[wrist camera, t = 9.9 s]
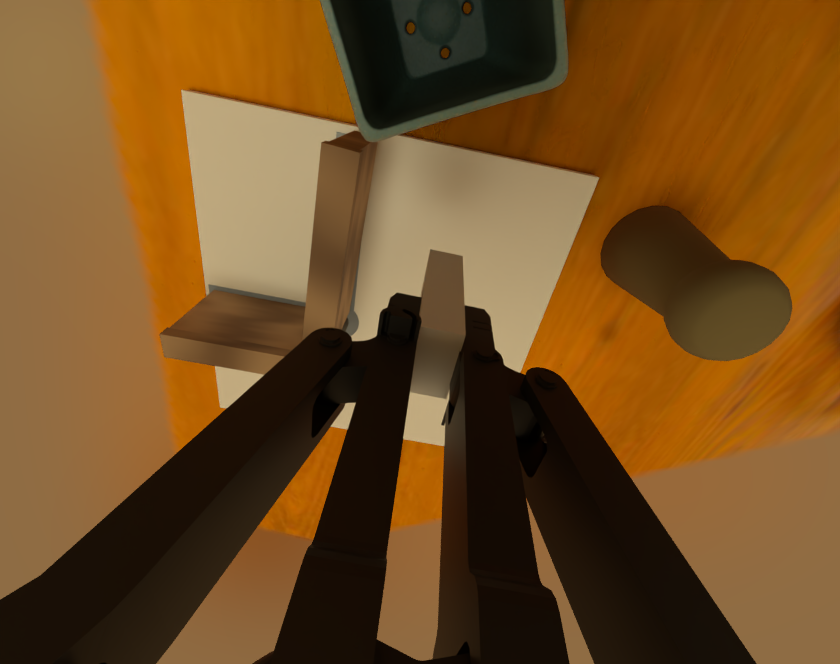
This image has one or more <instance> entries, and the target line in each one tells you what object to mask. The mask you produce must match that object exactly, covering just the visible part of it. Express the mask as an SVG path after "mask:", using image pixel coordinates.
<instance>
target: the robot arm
mask: <svg viewBox="0 0 840 664" xmlns="http://www.w3.org/2000/svg"><path fill="white" fill-rule="evenodd" d="M410 392H412V393H417V394H423V395H428V396H433V397H438V398H443V399H447V396H448V392H449V400H448V404H447V407H446V410H445V414H444V417H443V420H442V423H441V425H442V426H444V425H445V444H444V472H443V500H442V528H441V556H440V584H439V612H438V613H439V614H438V630H437V637H436V643H435V648H434V653H433V659H432V660H426V661H418V660H416V659H413V658H411V657H409V656H407V655H406V654H404V653H402V652H400V651H398V650H396V649H394V648H392V647H390V646H388V645H386V644H384V643H383V642H381V641H379V640H377V632H378V625H379V618H380V611H381V604H382V597H383V589H384V582H385V574H386V564H387V559H386V555H387V546H388V539H389V533H390V526H391V519H392V512H393V505H394V498H395V491H396V484H397V477H398V471H399V464H400V457H401V450H402V443H403V436H404V429H405V422H406V415H407V408H408V401H409V395H410ZM346 403H356V404H355V407H354V410H353V414H352V417H351V420H350V423H349V427H348V430H347V433H346V436H345V440H344V443H343V446H342V449H341V453H340V456H339V459H338V462H337V466H336V469H335V472H334V475H333V479H332V482H331V485H330V488H329V492H328V495H327V498H326V501H325V505H324V508H323V511H322V514H321V518H320V521H319V524H318V527H317V531H316V534H315V537H314V540H313V542H312V544H311V545H310V546H309V547H308V549H307V551H306V554H305V556H304V559H303V562H302V565H301V568H300V571H299V574H298V577H297V580H296V583H295V587H294V590H293V593H292V596H291V599H290V602H289V605H288V609H287V612H286V615H285V618H284V621H283V624H282V627H281V631H280V634H279V637H278V640H277V643H276V646H275V650H274V651H273V652H271V653H269V654H267V655H265V656H264V657H262V658H261V659H259V660H257V661H255V662H254V663H253V664H569V659H568V654H567V649H566V643H565V638H564V633H563V628H562V622H561V618H560V612H559V609H558V605H557V601H556V598H555V596H554V595H553V593H552V591H551V590H550V589H548V588H546V587H544V586H543V585H542V583H541V581H540V578H539V574H538V569H537V562H536V557H535V550H534V544H533V538H532V532H531V526H530V520H529V514H528V508H527V502H526V498H527V501H528V503H529V505H530V508H531V510H532V513H533V515H534V517H535V520H536V522H537V525H538V527H539V530H540V532H541V535H542V537H543V539H544V542H545V544H546V547H547V549H548V552H549V554H550V557H551V559H552V561H553V564H554V566H555V569H556V571H557V573H558V576H559V578H560V581H561V583H562V586H563V588H564V591H565V593H566V596H567V598H568V600H569V603H570V605H571V608H572V610H573V613H574V615H575V617H576V620H577V622H578V625H579V627H580V630H581V632H582V635H583V637H584V639H585V642H586V644H587V646H588V649H589V652H590V654H591V657H592V659H593V661H594V664H756V662H755V661H754V660H753V658H752V657H751V655H750V654H749V652H748V651H747V649H746V648H745V646H744V645H743V643H742V642H741V640H740V639H739V637H738V636H737V635H736V633H735V632H734V630H733V629H732V627H731V626H730V624H729V623H728V621H727V620H726V618H725V617H724V615H723V614H722V612H721V611H720V609H719V608H718V607H717V605H716V604H715V602H714V601H713V599H712V597H711V596H710V595H709V593H708V592H707V590H706V589H705V587H704V586H703V585H702V583H701V581H700V580H699V578H698V577H697V575H696V574H695V572H694V571H693V569H692V568H691V566H690V565H689V564H688V562H687V561H686V559H685V558H684V556H683V555H682V553H681V552H680V550H679V549H678V548H677V546H676V544H675V543H674V541H673V540H672V538H671V537H670V536H669V534H668V533H667V531H666V530H665V528H664V527H663V525H662V524H661V522H660V521H659V519H658V518H657V516H656V515H655V513H654V512H653V510H652V509H651V507H650V506H649V504H648V503H647V502H646V500H645V499H644V497H643V496H642V494H641V493H640V492H639V490H638V488H637V487H636V485H635V484H634V482H633V481H632V479H631V478H630V476H629V475H628V473H627V472H626V470H625V469H624V468H623V466H622V465H621V463H620V462H619V460H618V459H617V457H616V456H615V454H614V453H613V451H612V450H611V448H610V447H609V445H608V444H607V442H606V441H605V439H604V438H603V437H602V435H601V434H600V432H599V431H598V429H597V428H596V426H595V425H594V423H593V422H592V420H591V419H590V417H589V416H588V414H587V413H586V411H585V410H584V408H583V407H582V405H581V404H580V403H579V401H578V400H577V398H576V397H575V395H574V394H573V392H572V391H571V389H570V388H569V386H568V385H567V383H566V382H565V381H564V380H563V379H562V377H561V376H559V375H558V374H556V373H555V372H553V371H551V370H548V369H545V368H539V367H536V368H531V369H529V370H527V372H526V375H524V374H521V373H519V372H517V371H514V370H512V369H510V368H508V367H507V366H505V365H504V362H503V358H502V356H501V354H500V353H499V352H498V351H497V350H495V345H494V339H493V332H492V326H491V318H490V316H489V314H488V313H487V312H486V311H485V309H481V308H476V307H471V306H466V305H465V303H464V277H463V256H461V255H456V254H451V253H446V252H441V251H437V250H432V249H430V253H429V258H428V262H427V267H426V272H425V277H424V281H423V286H422V291H421V296H420V297H417V296H412V295H408V294H403V293H398V292H397V293H396V294H394V295H393V296H392V297H390V300H389V303H388V307H387V308H385V309H383V310H382V311H381V312H380V317H379V323H378V330H377V336H376V337H374V338H372V339H369V340H365V341H352V338H351V336H350V335H349V334H348V333H347V332H345V331H343V330H341V329H337V328H321V329H317V330H315V331H313V332H312V333H310V334H309V335H308V336H307V337H306V338H305V339H304V340H303V341H302V342H300V343H299V344H298V345H297V346H296V347H295V348H294V349H293V350H291V351H290V352H289V353H288V354H287V355H286V356H285V357H284V358H283V359H281V360H280V361H279V362H278V363H277V364H276V365H275V366H274V367H273V368H271V369H270V370H269V371H268V372H267V373H266V374H265V375H264V376H262V377H261V378H260V379H259V380H258V381H257V382H256V383H255V384H254V385H252V386H251V387H250V388H249V389H248V390H247V391H246V392H245V393H243V394H242V395H241V396H240V397H239V398H238V399H237V400H236V401H235V402H233V403H232V404H231V405H230V406H229V407H228V408H227V409H226V410H225V411H223V412H222V413H221V414H220V415H219V416H218V417H217V418H216V419H214V420H213V421H212V422H211V423H210V424H209V425H208V426H207V427H206V428H204V429H203V430H202V431H201V432H200V433H199V434H198V435H197V436H195V437H194V438H193V439H192V440H191V441H190V442H189V443H188V444H187V445H185V446H184V447H183V448H182V449H181V450H180V451H179V452H178V453H177V454H175V455H174V456H173V457H172V458H171V459H170V460H169V461H168V462H166V464H164V465H163V466H162V467H161V468H160V469H159V470H158V471H156V472H155V473H154V474H153V475H152V476H151V477H150V478H149V479H148V480H146V481H145V482H144V483H143V484H142V485H141V486H140V487H139V488H137V489H136V490H135V491H134V492H133V493H132V494H131V495H130V496H129V497H127V498H126V499H125V500H124V501H123V502H122V503H121V504H120V505H118V506H117V507H116V508H115V509H114V510H113V511H112V512H111V513H110V514H108V515H107V516H106V517H105V518H104V519H103V520H102V521H101V522H100V523H98V524H97V525H96V526H95V527H94V528H93V529H92V530H91V531H90V532H88V533H87V534H86V535H85V536H84V537H83V538H82V539H81V540H80V541H78V542H77V543H76V544H75V545H74V546H73V547H72V548H71V549H70V550H68V551H67V552H66V553H65V554H64V555H63V556H62V557H61V558H59V559H58V560H57V561H56V562H55V563H54V564H53V565H52V566H50V567H49V568H48V569H47V570H46V571H45V572H44V573H43V574H42V575H40V576H39V577H37V578H36V579H34V580H32V581H31V582H29V583H27V584H25V585H24V586H22V587H20V588H19V589H17V590H16V591H14V592H12V593H11V594H9V595H7V596H6V597H4V598H2V599H1V600H0V664H156V663H157V661H158V660H159V659H160V658H161V657H162V655H163V654H164V653H165V652H166V650H167V649H168V648H169V646H170V645H171V644H172V643H173V641H174V640H175V639H176V637H177V636H178V634H179V633H180V632H181V630H182V629H183V628H184V626H185V625H186V624H187V622H188V621H189V619H190V618H191V617H192V615H193V614H194V613H195V611H196V610H197V608H198V607H199V606H200V604H201V603H202V602H203V600H204V599H205V598H206V596H207V595H208V593H209V592H210V591H211V589H212V588H213V586H214V585H215V584H216V583H217V581H218V580H219V578H220V577H221V576H222V574H223V573H224V572H225V570H226V569H227V567H228V566H229V565H230V563H231V562H232V561H233V559H234V558H235V557H236V555H237V554H238V552H239V551H240V550H241V548H242V547H243V545H244V544H245V543H246V541H247V540H248V539H249V537H250V536H251V535H252V533H253V532H254V531H255V529H256V528H257V526H258V525H259V524H260V522H261V521H262V520H263V518H264V517H265V515H266V514H267V513H268V511H269V510H270V509H271V507H272V506H273V504H274V503H275V502H276V500H277V499H278V498H279V496H280V495H281V494H282V492H283V491H284V489H285V488H286V487H287V485H288V484H289V483H290V481H291V480H292V478H293V477H294V476H295V474H296V473H297V472H298V470H299V469H300V468H301V466H302V465H303V463H304V462H305V461H306V459H307V458H308V457H309V455H310V454H311V452H312V451H313V450H314V448H315V447H316V446H317V444H318V443H319V442H320V440H321V439H322V437H323V436H324V435H325V433H326V432H327V431H328V429H329V428H330V426H331V425H332V424H333V422H334V421H335V420H336V418H337V417H338V415H339V414H340V413H341V411H342V410H343V409H344V406H345V404H346Z"/></svg>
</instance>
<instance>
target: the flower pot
mask: <svg viewBox="0 0 840 664" xmlns="http://www.w3.org/2000/svg"><path fill="white" fill-rule="evenodd" d="M320 2H321V5H322V9H323V12H324V15H325V19H326V22H327V25H328V29H329V32H330V35H331V38H332V41H333V44H334V48H335V51H336V54H337V57H338V60H339V64H340V67H341V70H342V73H343V77H344V81H345V84H346V87H347V90H348V94H349V97H350V101H351V104H352V108H353V111H354V115H355V119H356V122H357V125H358V128H359V130H360V132H361V134H362V136H363V137H364V139H365V140H366V141H369V142H378V141H381V140H385V139H388V138H391V137H393V136H396V135H400V134H403V133H406V132H409V131H412V130H415V129H419V128H422V127H424V126H428V125H432V124H434V123H438V122H440V121H444V120H447V119H450V118H453V117H458V116H461V115H464V114H467V113H470V112H474V111H477V110H480V109H483V108H487V107H490V106H494V105H497V104H500V103H504V102H507V101H511V100H514V99H518V98H521V97H525V96H528V95H533V94H537V93H540V92H543V91H547V90H550V89H553V88H555V87H557V86H559V85H561V84H562V83H563V82H564V81H565V79H566V77H567V74H568V48H567V32H566V21H565V19H566V17H565V5H564V0H320ZM465 2H469V3H470V4H471V7H472V9H471V12H470V13H469V14H465V13H463V10H462V7H463V4H464V3H465ZM409 22H412V23H414V25H415V31H414V32H413V33H412V34H409V33H408V32H407V30H406V25H407V23H409ZM443 48H448V49H449V51H450V52H449V56H448V57H447V58H443V57H442V56H441V50H442V49H443Z"/></svg>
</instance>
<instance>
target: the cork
mask: <svg viewBox="0 0 840 664" xmlns="http://www.w3.org/2000/svg"><path fill="white" fill-rule="evenodd" d="M601 266H602V268H603V270H604V272H605V274H606V276H607V277H608V278H610V279H611V280H612V281H613V282H614V283H616V284H617V285H618V286H620V287H621V288H623V289H624V290H626V291H627V292H629V293H630V294H632V295H633V296H634V297H636V298H637V299H639V300H640V301H642V302H643V303H645V304H646V305H648V306H649V307H650V308H652V309H653V310H655V311H656V312H658V313H659V314H661V315H662V316H664V322H665V324H666V327H667V329H668V332H669V334H670V336H671V338H672V339H673V340H674V341H675V342H676V343H677V344H678V345H679V346H680V347H681V348H683V349H684V350H685V351H687V352H688V353H690V354H692V355H695V356H697V357H700V358H703V359H707V360H718V361H730V360H735V359H741V358H744V357H747V356H749V355H752V354H754V353H757V352H758V351H760V350H762V349H763V348H765V347H766V346H768V345H769V344H771V343H772V342H773V341H774V340H775V339H776V338H777V337H778V336H779V335H780V334H781V333H782V332H783V330H784V329H785V327H786V325H787V324H788V322H789V320H790V316H791V311H792V301H791V297H790V293H789V289H788V288H787V286H786V285H785V284H784V283H783V282H782V281H781V279H780V278H779V277H778V276H777V275H776V274H775V273H774V272H772V271H770V270H769V269H767V268H765V267H762V266H760V265H757V264H755V263H752V262H748V261H742V260H730V259H729V258H728V257H727V256H726V255H725V254H724V253H723V252H722V251H721V250H720V249H718V248H717V247H716V246H715V245H714V244H713V243H712V242H711V241H710V240H709V239H708V238H707V237H706V236H705V235H703V234H702V233H701V232H700V231H699V230H698V229H697V228H696V227H695V226H694V225H693V224H692V223H691V222H690V221H688V220H687V219H686V218H685V217H684V216H683V215H682V214H681V213H680V212H679V211H676V210H674V209H671V208H669V207H665V206H651V207H647V208H643V209H639V210H636V211H635V212H633V213H631V214H629V215H627V216H626V217H624V218H623V219H622V220H620V221H619V222H618V223H617V224H616V225H615V226H614V227H613V228H612V229H611V231H610V232H609V234H608V236H607V237H606V239H605V240H604V243H603V247H602V251H601Z"/></svg>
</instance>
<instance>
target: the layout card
mask: <svg viewBox="0 0 840 664" xmlns="http://www.w3.org/2000/svg"><path fill="white" fill-rule="evenodd" d="M181 92H182V100H183V108H184V117H185V125H186V133H187V141H188V149H189V157H190V165H191V174H192V182H193V190H194V198H195V206H196V214H197V223H198V231H199V239H200V247H201V255H202V263H203V271H204V280H205V288H206V296H207V295H208V294H210V293H211V292H212V291H213V290H218V291H223V292H228V293H234V294H239V295H245V296H250V297H255V298H261V299H266V300H271V301H277V302H282V303H287V304H293V305H298V306H303V307H305V306H306V295H307V285H308V275H309V264H310V254H311V244H312V233H313V223H314V212H315V202H316V192H317V181H318V171H319V161H320V150H321V142H324V141H331V140H333V139H336V138H338V137H340V136H343V135H345V134H347V133H350V132H352V131H354V130H355V131H358V132H360V130H359V128H358V125H355V124H350V123H345V122H341V121H336V120H331V119H326V118H322V117H317V116H312V115H307V114H303V113H298V112H293V111H288V110H284V109H279V108H274V107H269V106H265V105H260V104H255V103H250V102H246V101H241V100H236V99H231V98H227V97H222V96H217V95H212V94H208V93H203V92H198V91H193V90H181ZM598 180H599V177H597V176H595V175H592V174H588V173H583V172H578V171H573V170H569V169H564V168H559V167H554V166H550V165H545V164H540V163H535V162H531V161H526V160H521V159H516V158H512V157H507V156H502V155H497V154H493V153H488V152H483V151H478V150H474V149H469V148H464V147H459V146H455V145H450V144H445V143H440V142H436V141H431V140H426V139H421V138H417V137H412V136H407V135H402V134H400V135H396V136H393V137H391V138H388V139H385V140H381V141H378V144H377V150H376V156H375V162H374V168H373V174H372V180H371V186H370V192H369V198H368V204H367V210H366V216H365V222H364V228H363V234H362V240H361V246H360V252H359V258H358V264H357V270H356V276H355V282H354V288H353V294H352V300H351V306H350V312H349V314H348V316H347V318H348V321H349V324H348V327H347V329H346V332H347V333H348V334H349V335H350V336H351V338H352V341H365V340H369V339H372V338H374V337H376V336H377V330H378V323H379V317H380V312H381V311H382V310H383V309H385V308H387V307H388V303H389V300H390V297H392V296H393V295H394V294H396V293H397V292H398V293H403V294H408V295H412V296H417V297H420V296H421V291H422V286H423V281H424V277H425V272H426V267H427V262H428V258H429V253H430V249H432V250H437V251H441V252H446V253H451V254H456V255H461V256H463V277H464V303H465V305H466V306H471V307H476V308H481V309H485V311H486V312H487V313H488V314H489V316H490V318H491V326H492V332H493V339H494V345H495V350H497V351H498V352H499V353H500V354H501V356H502V358H503V362H504V365H505V366H507V367H508V368H510V369H512V370H514V371H517V372H519V373H520V372H521V369H522V367H523V364H524V362H525V359H526V357H527V354H528V352H529V349H530V347H531V345H532V342H533V340H534V337H535V335H536V332H537V330H538V327H539V325H540V322H541V320H542V318H543V315H544V313H545V310H546V308H547V305H548V303H549V300H550V298H551V295H552V293H553V290H554V288H555V286H556V283H557V281H558V278H559V276H560V273H561V271H562V268H563V266H564V263H565V261H566V258H567V256H568V254H569V251H570V249H571V246H572V244H573V241H574V239H575V236H576V234H577V231H578V229H579V227H580V224H581V222H582V219H583V217H584V214H585V212H586V209H587V207H588V204H589V202H590V199H591V197H592V195H593V192H594V190H595V187H596V185H597V182H598ZM215 369H216V377H217V386H218V394H219V402H220V407H221V408H228V407H229V406H230V405H231V404H232V403H233V402H235V401H236V400H237V399H238V398H239V397H240V396H241V395H242V394H243V393H245V392H246V391H247V390H248V389H249V388H250V387H251V386H252V385H254V384H255V383H256V382H257V381H258V380H259V379H260V378H261V377H262V376H264V375H263V374H257V373H252V372H246V371H240V370H235V369H229V368H224V367H218V366H215ZM448 400H449V392H448V396H447V399H443V398H438V397H433V396H428V395H423V394H417V393H412V392H410V395H409V401H408V408H407V415H406V422H405V429H404V436H403V439H406V440H412V441H418V442H423V443H429V444H435V445H441V446H444V444H445V425H444V426H442V425H441V423H442V420H443V417H444V414H445V410H446V407H447V404H448ZM355 404H356V403H346V404H345V406H344V409H343V410H342V411H341V413H340V414H339V415H338V417H337V418H336V420H335V421H334V422H333V424H332V425H331V427H337V428H342V429H348V427H349V423H350V420H351V417H352V414H353V410H354V407H355Z"/></svg>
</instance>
